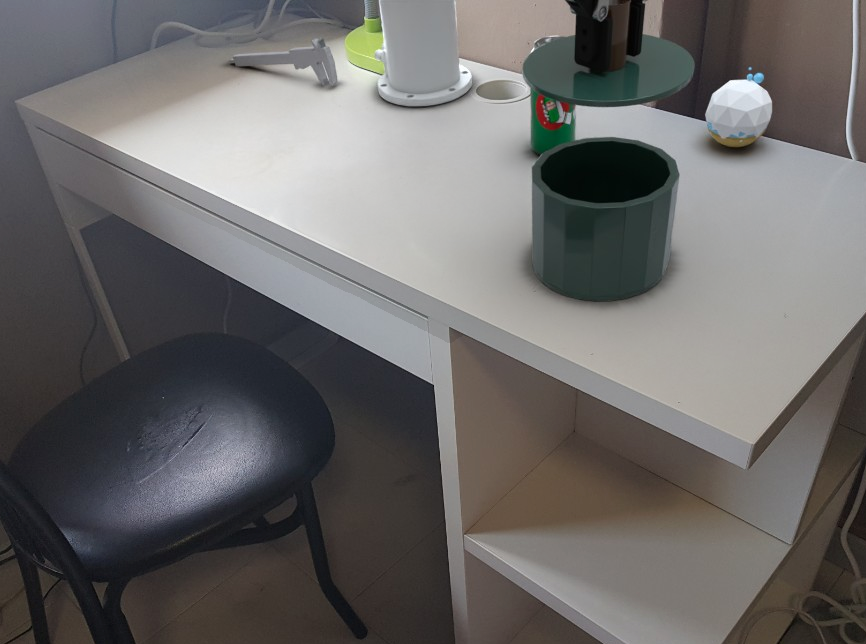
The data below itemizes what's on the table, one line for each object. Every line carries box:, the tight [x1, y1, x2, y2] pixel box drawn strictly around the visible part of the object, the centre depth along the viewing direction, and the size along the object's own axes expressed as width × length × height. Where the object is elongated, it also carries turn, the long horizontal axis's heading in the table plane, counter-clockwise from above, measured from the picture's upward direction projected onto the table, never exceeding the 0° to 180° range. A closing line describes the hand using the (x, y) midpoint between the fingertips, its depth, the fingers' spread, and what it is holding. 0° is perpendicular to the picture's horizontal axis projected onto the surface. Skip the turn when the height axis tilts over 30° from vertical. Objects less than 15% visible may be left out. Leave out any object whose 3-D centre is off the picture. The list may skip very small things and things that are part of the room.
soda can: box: [529, 35, 577, 156], centre depth 93 cm, size 5×5×12 cm
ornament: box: [704, 66, 773, 148], centre depth 92 cm, size 7×7×8 cm
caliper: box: [228, 37, 339, 87], centre depth 118 cm, size 20×1×6 cm, turn 55°
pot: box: [531, 136, 680, 302], centre depth 77 cm, size 13×13×10 cm
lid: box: [521, 0, 696, 108], centre depth 66 cm, size 14×14×6 cm
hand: (607, 57), depth 67 cm, fingers closed on lid, 3 cm apart
